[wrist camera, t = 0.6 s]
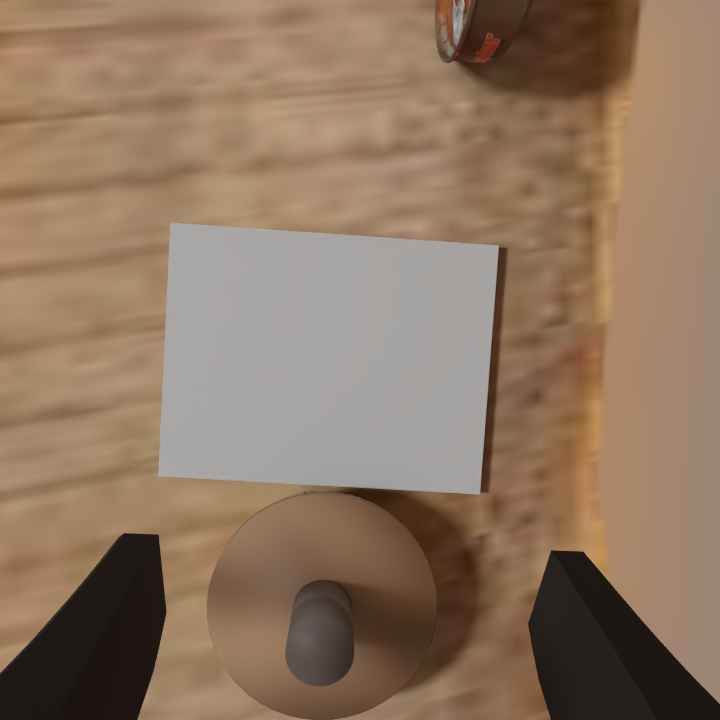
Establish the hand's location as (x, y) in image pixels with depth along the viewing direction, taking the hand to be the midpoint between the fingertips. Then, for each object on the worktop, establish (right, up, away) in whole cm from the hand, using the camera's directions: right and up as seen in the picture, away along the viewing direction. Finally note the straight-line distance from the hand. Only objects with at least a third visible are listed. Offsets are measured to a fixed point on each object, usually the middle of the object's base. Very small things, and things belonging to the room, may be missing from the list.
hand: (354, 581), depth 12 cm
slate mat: (-1, +4, +20) cm, 20 cm away
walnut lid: (-2, -7, +18) cm, 20 cm away
